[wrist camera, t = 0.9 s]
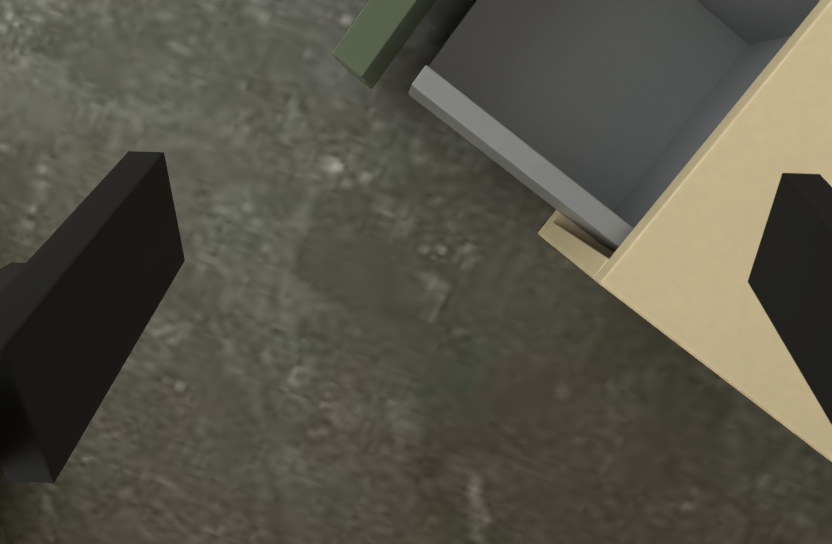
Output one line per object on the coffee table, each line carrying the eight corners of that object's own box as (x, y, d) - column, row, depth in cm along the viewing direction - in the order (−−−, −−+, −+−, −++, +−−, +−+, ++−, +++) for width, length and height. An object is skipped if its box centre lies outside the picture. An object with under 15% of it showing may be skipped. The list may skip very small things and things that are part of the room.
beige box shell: (536, 233, 34) (599, 284, 23) (732, -14, 32) (897, -80, 21) (766, 409, 36) (917, 528, 26) (963, 188, 34) (1216, 218, 24)
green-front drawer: (267, 9, 31) (217, -35, 22) (448, -255, 29) (469, -415, 20) (588, 256, 33) (656, 304, 25) (773, 29, 31) (916, -6, 23)
